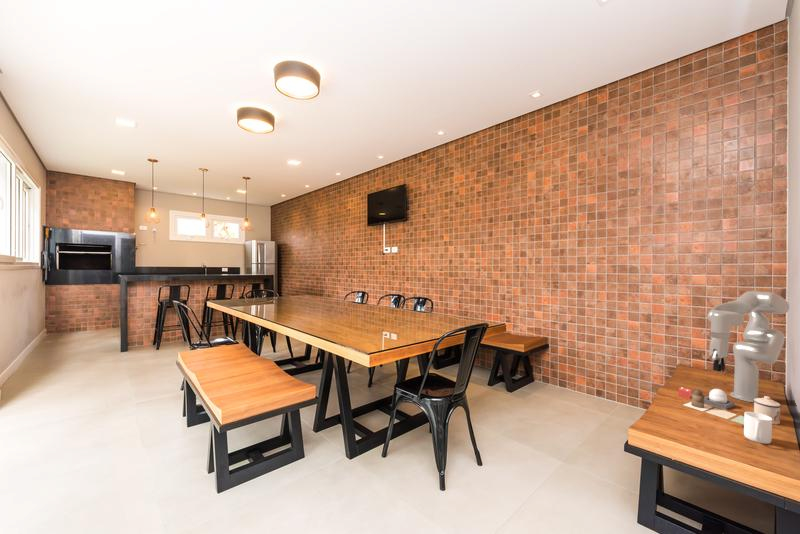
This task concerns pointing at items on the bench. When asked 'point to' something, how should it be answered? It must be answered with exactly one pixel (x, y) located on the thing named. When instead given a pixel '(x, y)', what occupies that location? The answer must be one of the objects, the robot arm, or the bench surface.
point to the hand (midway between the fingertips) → (718, 370)
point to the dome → (718, 396)
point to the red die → (684, 392)
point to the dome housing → (723, 406)
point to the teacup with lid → (768, 408)
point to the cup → (758, 427)
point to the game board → (719, 413)
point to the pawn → (697, 399)
